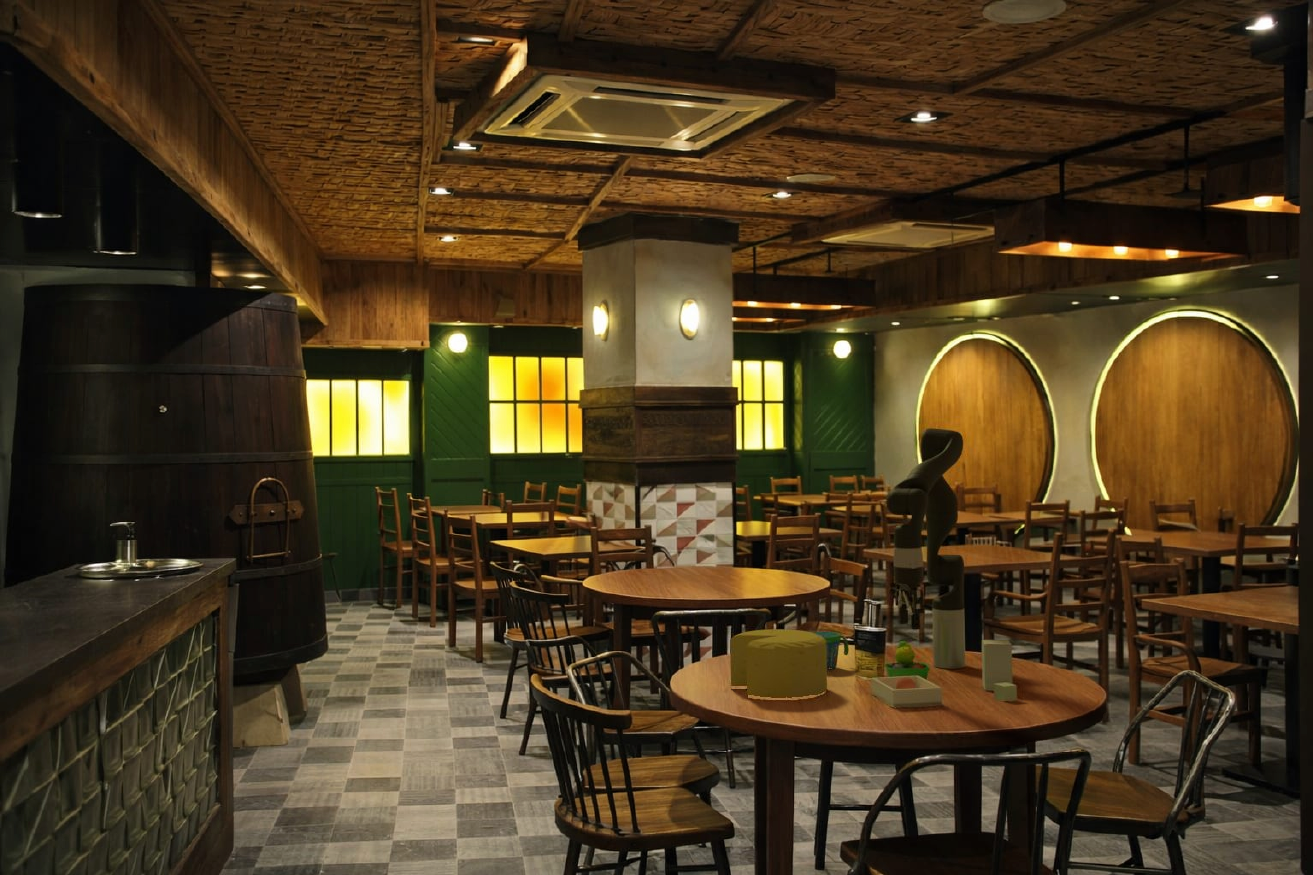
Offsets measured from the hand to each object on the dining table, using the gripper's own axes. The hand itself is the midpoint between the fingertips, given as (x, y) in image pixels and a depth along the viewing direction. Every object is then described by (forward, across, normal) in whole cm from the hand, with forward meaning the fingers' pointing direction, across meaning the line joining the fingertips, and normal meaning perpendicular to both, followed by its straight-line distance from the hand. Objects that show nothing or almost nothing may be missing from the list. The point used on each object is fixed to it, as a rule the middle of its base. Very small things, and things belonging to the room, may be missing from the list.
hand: (909, 626), depth 297 cm
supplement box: (+19, -6, +27) cm, 33 cm away
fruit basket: (+19, -18, +6) cm, 27 cm away
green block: (+19, +7, +23) cm, 30 cm away
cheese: (+19, -16, -32) cm, 40 cm away
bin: (+19, +3, -2) cm, 19 cm away
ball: (+18, +2, -2) cm, 18 cm away
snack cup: (+20, -43, -11) cm, 49 cm away
